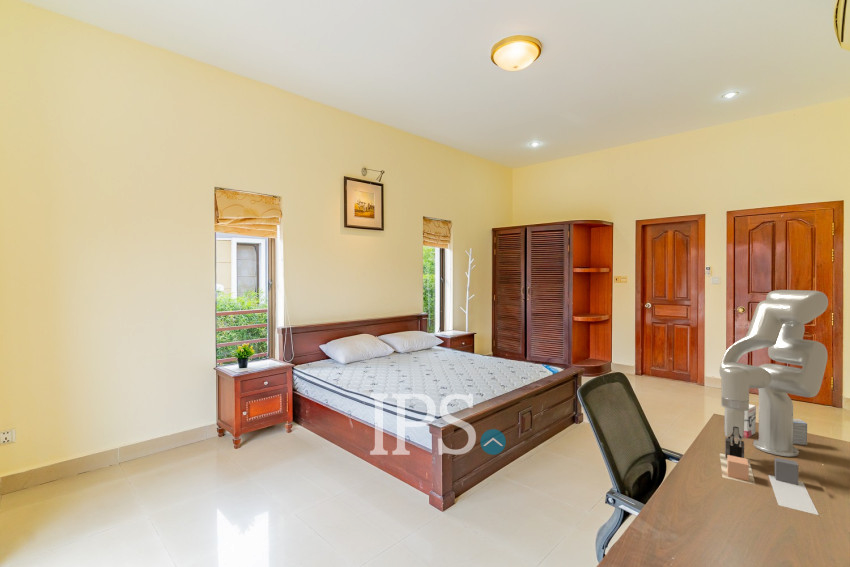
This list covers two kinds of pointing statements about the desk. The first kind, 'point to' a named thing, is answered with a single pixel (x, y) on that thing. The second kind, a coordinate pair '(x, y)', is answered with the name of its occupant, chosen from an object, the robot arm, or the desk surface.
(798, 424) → the medicine box
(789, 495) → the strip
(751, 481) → the cube strip
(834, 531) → the desk surface
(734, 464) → the cube
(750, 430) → the ink box
